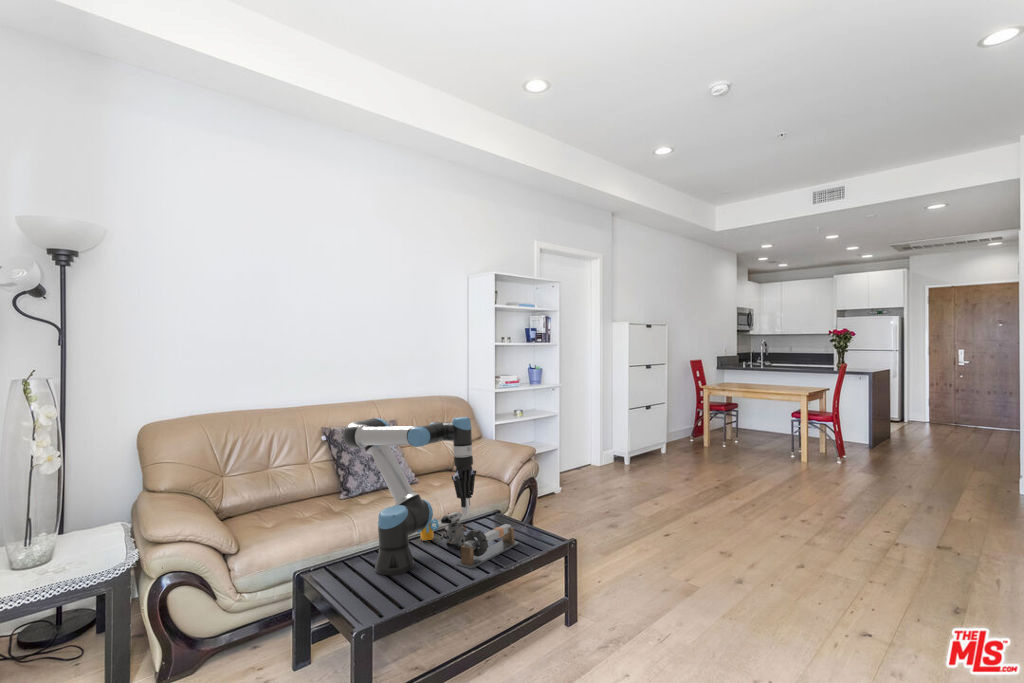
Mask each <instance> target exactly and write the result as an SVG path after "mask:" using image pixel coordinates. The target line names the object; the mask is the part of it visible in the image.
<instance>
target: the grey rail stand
mask: <svg viewBox="0 0 1024 683" xmlns="http://www.w3.org/2000/svg"><path fill="white" fill-rule="evenodd" d="M484 534H485V536H486V537H487V538H486V539H485V540H488V544H489V543H491V542H493V541H495V540H497V539H500V538H502V539H501V540H499V541H498V542H495V543H494V544H492V545H490V546H488V548H487V551H486V552H485V553H484V554H483V555H481V556H479V557H477V556H474V553H473V550H475V549H477V548H480V545H479V541H478V539H477V538H475V537H474V538H473V539H471V540H469V541H467V542H465V543H464V545H463V546H461V549H460V561H458V562H456V565H457V566H460V567H463V568H467V569H474V568H476V567H478V566H480V565H481V564H483V563H485V562H487V561H489V560H491V559H494V558H495V557H496V556H499V555H501V554H502V553H504V552H507V551H509V550H510V549H512V548H513V547H515V546H517V545H519V541H516V540H515V528H514V527H513V526H512V524H508V523H504V524H502V525H500V526H497V527H495V528H493V529H491V530H489V531H487V532H485V533H484Z"/></svg>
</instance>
